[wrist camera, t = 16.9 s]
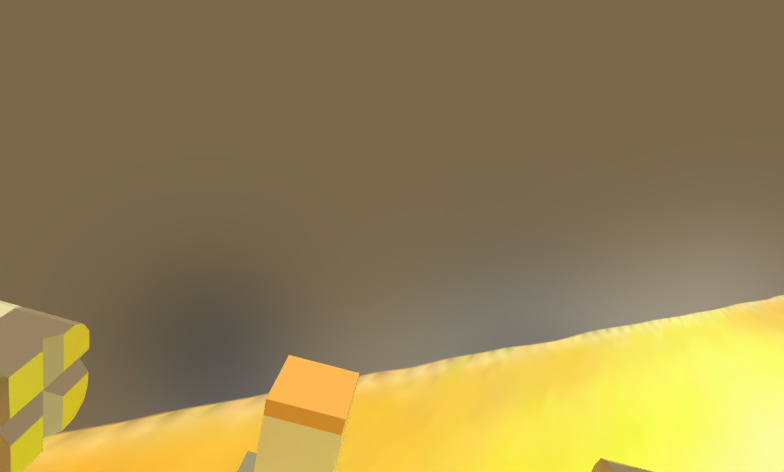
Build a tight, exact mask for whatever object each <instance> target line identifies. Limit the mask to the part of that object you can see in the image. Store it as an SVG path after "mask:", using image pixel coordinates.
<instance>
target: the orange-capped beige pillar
mask: <svg viewBox="0 0 784 472" xmlns="http://www.w3.org/2000/svg"><path fill="white" fill-rule="evenodd" d="M358 377H359V373H356V372H352V371H349V370H345V369H340V368H337V367H333V366H329V365H325V364H321V363H318V362H313V361H310V360H306V359H302V358H298V357H294V356H290V355H289V356H288V358H287V360H286V362H285V364H284V366H283V368H282V370H281V371H280V374H279V376H278V377H277V379H276V381H275V383H274V385H273V387H272V389H271V391H270V393H269V395H268V396H267V398H266V403H265V409H264V415H263V421H262V427H261V433H260V438H259V444H258V450H257V456H256V462H255V468H254V472H336V469H337V465H338V461H339V457H340V452H341V448H342V444H343V440H344V436H345V431H346V427H347V423H348V419H349V415H350V410H351V406H352V402H353V398H354V394H355V389H356V385H357V381H358Z"/></svg>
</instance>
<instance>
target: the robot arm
mask: <svg viewBox="0 0 784 472" xmlns="http://www.w3.org/2000/svg"><path fill="white" fill-rule="evenodd" d="M88 349H89V330H88V329H87V327H86V326H85V325H84V324H82V323H79V322H75V321H71V320H68V319H64V318H61V317H57V316H54V315H50V314H47V313H43V312H40V311H36V310H32V309H29V308H25V307H21V306H17V305H14V304H10V303H6V302H3V301H0V472H22V471H23V470H24V469H25V468H26V467H27V466H28V465H29V464H30V463H31V462H32V461H33V460H34V459H35V458H36V457H37V456H38V455H39V454H40V453H41V452H42V451H43V438H44V437H47V436H49V435H52V434H54V433H57V432H60V431H62V430H63V429H64V428H65V427H66V426H67V425H68V424H69V423H70V422H71V420H72V419H73V418H74V417H75V415H76V413H77V411H78V410H79V408H80V406H81V404H82V402H83V400H84V397H85V393H86V389H87V386H88V371H87V369H86V368H85V366H84V365H83V363H82V361H81V360H80V358H79V357H80V356H81V355H83V354H84V353H85V352H86V351H87V350H88ZM592 472H653V471H649V470H645V469H641V468H637V467H633V466H629V465H625V464H621V463H618V462H614V461H610V460H606V459H602V458H601V459H600V460H599V461H598V462H597V463H596V464H595V465H594V468H593V470H592Z"/></svg>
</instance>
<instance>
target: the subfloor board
mask: <svg viewBox="0 0 784 472" xmlns="http://www.w3.org/2000/svg"><path fill="white" fill-rule="evenodd" d="M256 456H257V453H253V452H249V451H248V452H247V454H246V456H245V458H244V460H243V462H242V464H241V466H240V468H239V470H238V472H254V468H255V462H256Z"/></svg>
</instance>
